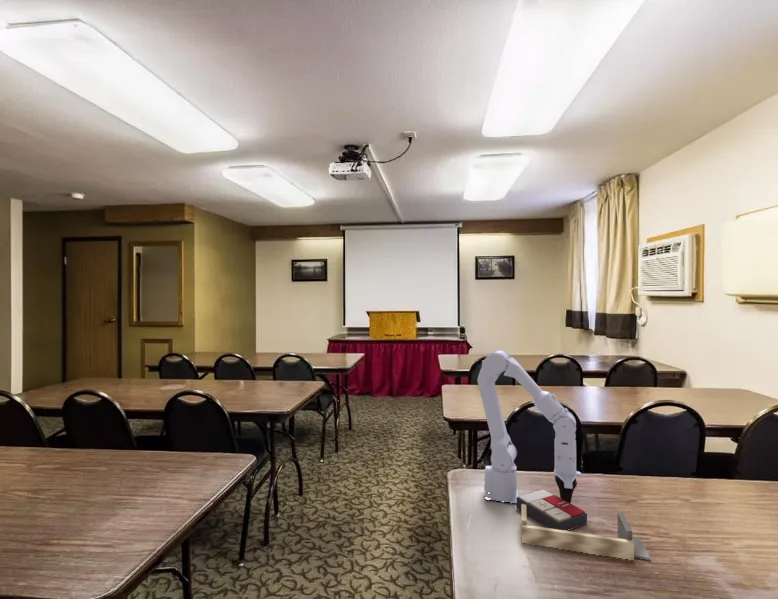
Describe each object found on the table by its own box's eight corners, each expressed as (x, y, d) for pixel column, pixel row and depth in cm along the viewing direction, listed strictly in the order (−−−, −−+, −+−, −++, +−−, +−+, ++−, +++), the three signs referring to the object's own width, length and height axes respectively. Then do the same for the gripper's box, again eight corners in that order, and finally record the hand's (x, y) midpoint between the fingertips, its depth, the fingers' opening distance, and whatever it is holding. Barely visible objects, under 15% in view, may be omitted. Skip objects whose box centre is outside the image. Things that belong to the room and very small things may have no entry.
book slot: (521, 543, 102) (521, 518, 102) (521, 522, 112) (521, 500, 112) (652, 563, 94) (651, 536, 94) (639, 539, 104) (639, 515, 104)
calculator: (559, 520, 107) (516, 494, 120) (558, 537, 107) (515, 509, 120) (588, 510, 112) (543, 486, 125) (587, 526, 112) (543, 501, 125)
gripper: (584, 466, 112) (585, 517, 112) (576, 449, 126) (577, 494, 126) (556, 463, 114) (556, 514, 114) (551, 446, 128) (552, 491, 128)
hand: (565, 503), depth 120 cm, fingers closed
